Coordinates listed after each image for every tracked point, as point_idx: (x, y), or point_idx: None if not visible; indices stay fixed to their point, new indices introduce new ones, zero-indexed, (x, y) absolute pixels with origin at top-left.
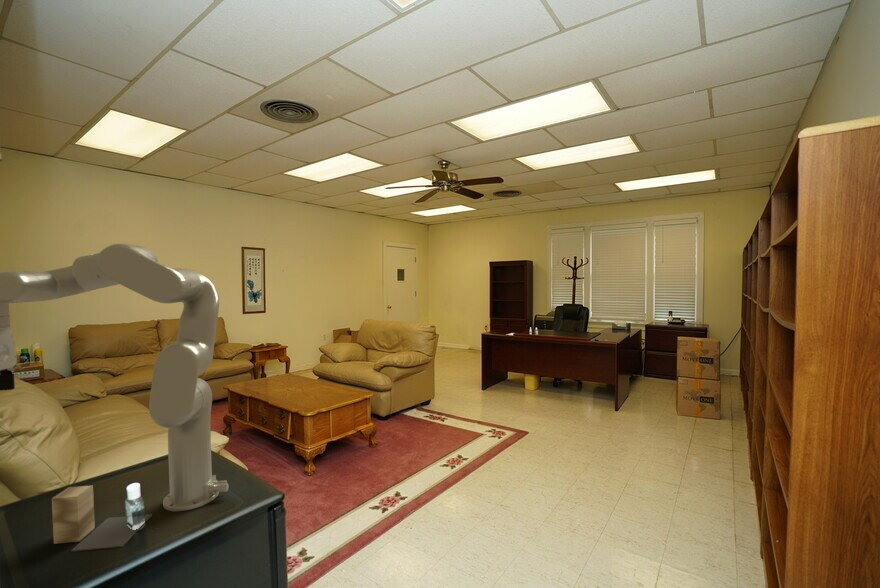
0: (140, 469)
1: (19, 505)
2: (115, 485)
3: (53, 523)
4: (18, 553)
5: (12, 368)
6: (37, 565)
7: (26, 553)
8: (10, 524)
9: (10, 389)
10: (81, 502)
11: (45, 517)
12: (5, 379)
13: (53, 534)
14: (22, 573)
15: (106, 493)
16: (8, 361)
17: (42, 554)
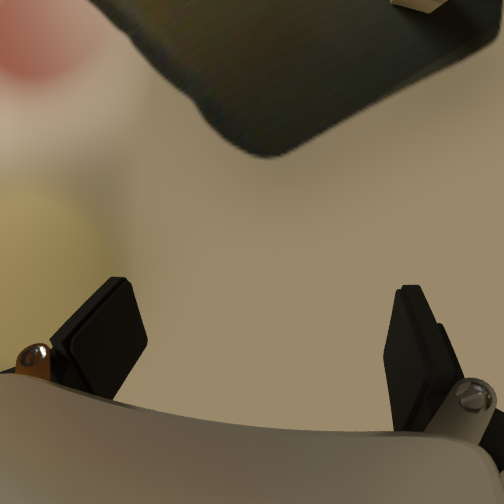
0: (137, 11)
1: (255, 153)
2: (205, 12)
3: (441, 3)
4: (441, 56)
5: (27, 374)
6: (475, 19)
7: (444, 44)
8: (336, 121)
9: (128, 288)
10: None
11: (324, 70)
12: (102, 352)
13: (434, 9)
14: (488, 32)
15: (241, 8)
16: (54, 466)
17: (450, 21)
